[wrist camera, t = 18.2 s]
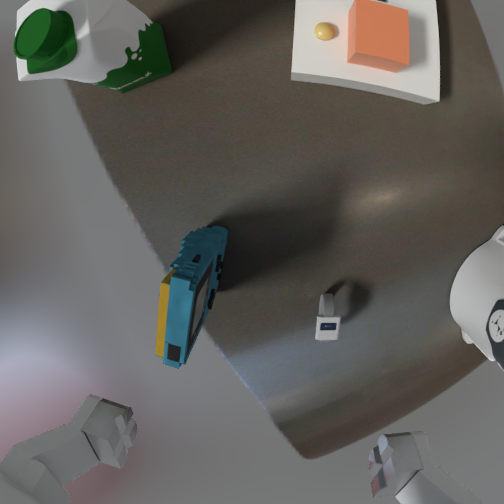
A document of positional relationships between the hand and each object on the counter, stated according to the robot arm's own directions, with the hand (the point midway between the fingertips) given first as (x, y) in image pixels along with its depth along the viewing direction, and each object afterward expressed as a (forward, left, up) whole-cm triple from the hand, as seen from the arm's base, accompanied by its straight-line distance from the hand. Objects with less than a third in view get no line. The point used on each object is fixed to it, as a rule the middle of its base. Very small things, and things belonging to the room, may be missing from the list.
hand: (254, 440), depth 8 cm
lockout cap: (-8, -21, -25) cm, 34 cm away
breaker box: (-8, -25, -29) cm, 39 cm away
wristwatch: (-7, +11, -29) cm, 32 cm away
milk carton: (+18, -19, -29) cm, 39 cm away
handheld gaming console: (+8, +6, -29) cm, 31 cm away
